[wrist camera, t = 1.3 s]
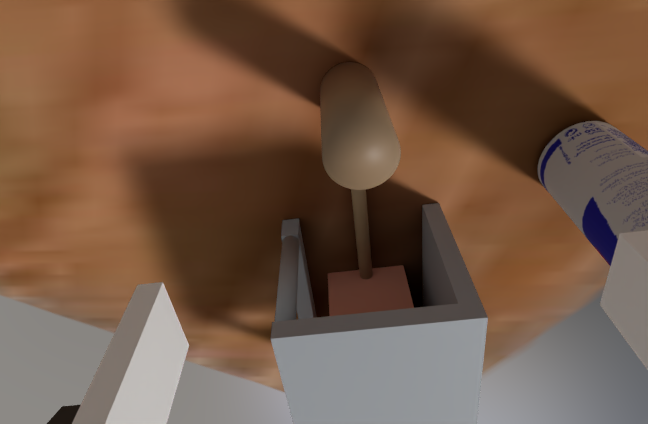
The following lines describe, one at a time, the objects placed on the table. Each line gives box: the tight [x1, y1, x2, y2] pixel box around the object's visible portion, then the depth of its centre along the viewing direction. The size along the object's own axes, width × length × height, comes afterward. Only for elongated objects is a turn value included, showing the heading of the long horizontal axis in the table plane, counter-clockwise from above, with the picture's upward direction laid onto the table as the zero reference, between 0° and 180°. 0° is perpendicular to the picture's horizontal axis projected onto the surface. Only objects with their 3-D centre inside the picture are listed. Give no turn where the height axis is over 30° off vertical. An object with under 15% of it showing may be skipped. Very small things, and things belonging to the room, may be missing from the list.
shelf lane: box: [271, 203, 488, 424], centre depth 33 cm, size 15×11×11 cm
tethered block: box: [320, 62, 414, 316], centre depth 30 cm, size 22×6×9 cm, turn 7°
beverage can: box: [538, 121, 648, 266], centre depth 25 cm, size 6×6×15 cm
